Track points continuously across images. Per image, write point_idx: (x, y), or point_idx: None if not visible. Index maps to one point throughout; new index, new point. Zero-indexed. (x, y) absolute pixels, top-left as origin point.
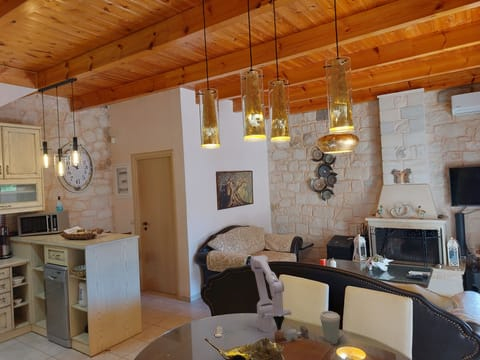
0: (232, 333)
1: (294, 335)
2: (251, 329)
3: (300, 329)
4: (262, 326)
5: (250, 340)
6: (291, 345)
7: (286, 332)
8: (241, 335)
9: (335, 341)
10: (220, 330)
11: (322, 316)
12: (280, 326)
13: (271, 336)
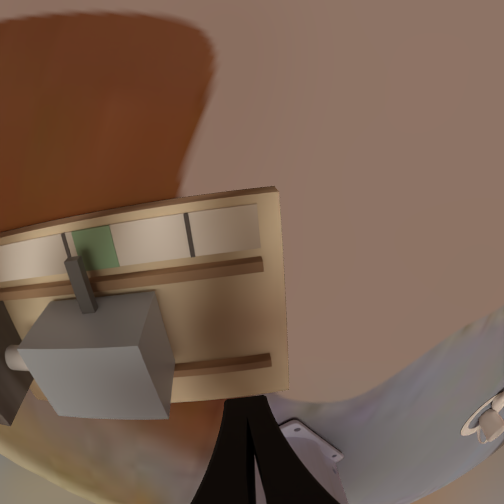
0: (448, 426)
1: (60, 326)
2: (352, 467)
3: (18, 400)
4: (328, 478)
5: (426, 368)
6: None
7: (142, 373)
8: (430, 416)
9: None
10: (497, 421)
11: None
12: (233, 444)
13: None
